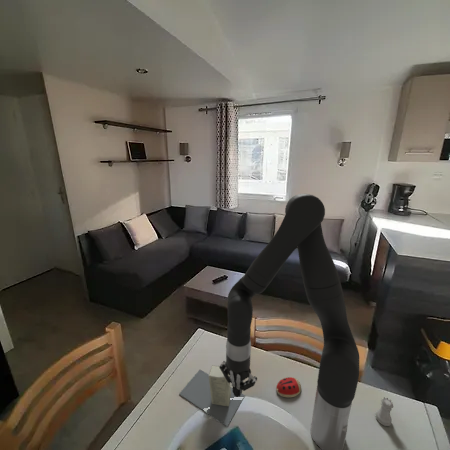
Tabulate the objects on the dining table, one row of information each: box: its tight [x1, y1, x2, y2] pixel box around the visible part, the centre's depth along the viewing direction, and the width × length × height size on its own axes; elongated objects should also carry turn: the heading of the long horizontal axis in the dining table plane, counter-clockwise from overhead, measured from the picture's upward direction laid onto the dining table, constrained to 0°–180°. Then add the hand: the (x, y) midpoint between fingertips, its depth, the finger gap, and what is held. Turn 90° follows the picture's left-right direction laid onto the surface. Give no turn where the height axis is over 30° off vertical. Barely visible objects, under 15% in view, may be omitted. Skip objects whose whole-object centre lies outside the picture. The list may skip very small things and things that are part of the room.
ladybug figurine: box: [275, 376, 302, 398], centre depth 86 cm, size 7×10×4 cm
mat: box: [178, 369, 246, 428], centre depth 83 cm, size 20×12×1 cm, turn 59°
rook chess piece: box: [375, 396, 394, 427], centre depth 75 cm, size 4×4×8 cm
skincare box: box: [208, 365, 231, 406], centre depth 80 cm, size 6×4×12 cm
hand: (237, 394), depth 76 cm, fingers closed
